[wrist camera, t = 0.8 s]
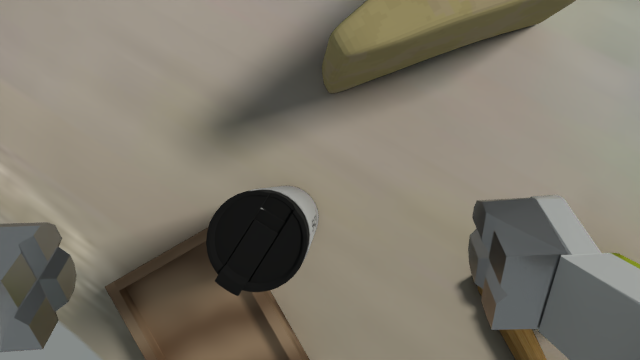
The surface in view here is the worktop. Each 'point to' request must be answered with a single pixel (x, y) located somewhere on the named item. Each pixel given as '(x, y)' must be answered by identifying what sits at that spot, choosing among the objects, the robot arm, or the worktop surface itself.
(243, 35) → the worktop surface
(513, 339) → the tap handle
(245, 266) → the travel mug
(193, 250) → the tray
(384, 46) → the cheese
